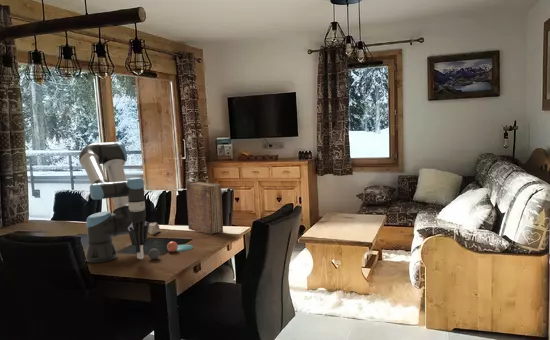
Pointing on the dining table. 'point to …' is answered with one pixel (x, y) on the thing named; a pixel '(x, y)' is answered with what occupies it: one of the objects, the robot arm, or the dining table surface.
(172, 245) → the object ball
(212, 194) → the book
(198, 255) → the dining table surface
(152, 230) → the mineral specimen
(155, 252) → the gray ball
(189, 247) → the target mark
